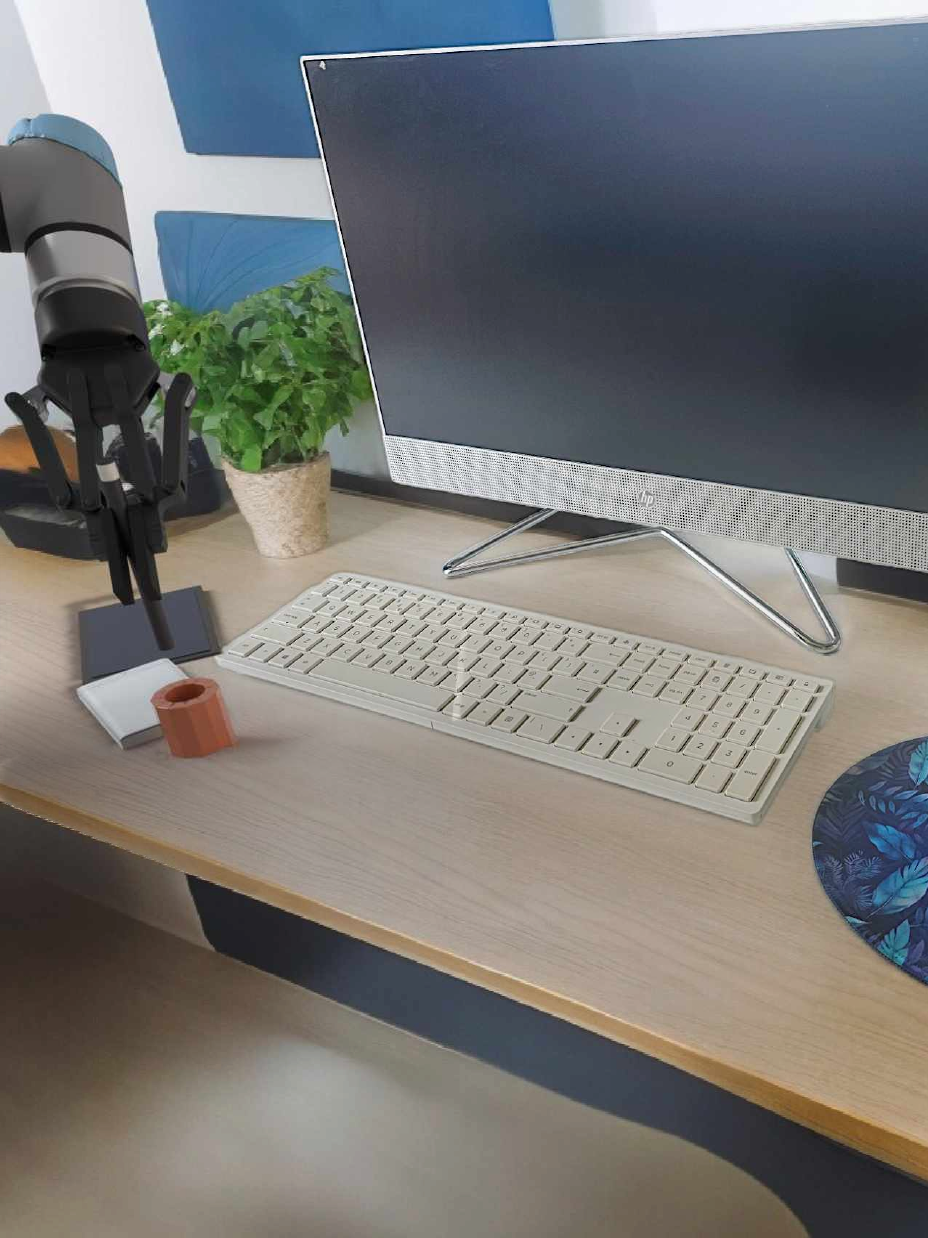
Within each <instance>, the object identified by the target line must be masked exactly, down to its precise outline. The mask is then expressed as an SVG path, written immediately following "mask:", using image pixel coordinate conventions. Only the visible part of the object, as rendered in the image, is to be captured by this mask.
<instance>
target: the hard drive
mask: <svg viewBox="0 0 928 1238" xmlns="http://www.w3.org/2000/svg"><path fill="white" fill-rule="evenodd" d="M190 678H191V677H189V676H188V675H187V674H186V673H184V671H182V670H181V669H180V668H179V667H178V666H177V664H176V665H175V664H174V663H172V662H171V661H170V660H169V659H168V658H164V659H160V660H157V661H154V662H151V663H148V664H145V665H142V666H139V667H136V668H133V669H130V670H127V671H124V672H121V673H118V674H115V675H112V676H109V677H106V678H103V679H100V680H97V681H95V682H92V683H89V684H86V685H81V686H79V687H78V688H76V693H77V695H78V698H79V699H80V701H81V702H82V703H83V704H84V705H85V707H86V708H87V709H88V710H89V712H90V713H91V714H92V715H93V716H94V717H95V718H96V720H97V721H98V722H99V724H100V725H101V726H102V727H103V728H104V729H105V730H106V731H107V733H108V734H109V735H110V736H111V738H112V739H113V740H114V741H115V742H116V743H117V745H118V746H119V747H120V748H121V750H122V751H124V750H127V749H130V748H132V747H135V746H138V745H141V744H143V743H146V742H149V741H151V740H154V739H157V738H159V737H163V735H162V732H161V729H160V727H159V724H158V721H157V718H156V716H155V713H154V710H153V707H152V704H151V702H150V701H151V699H152V697H153V695H154V693H155V692H157V691H158V690H160V689H161V688H163V687H164V686H166V685H167V684H170V683H173V682H176V681H179V680H182V679H190Z"/></svg>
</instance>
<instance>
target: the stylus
mask: <svg viewBox="0 0 928 1238" xmlns="http://www.w3.org/2000/svg"><path fill="white" fill-rule="evenodd" d="M95 463H96V467H97V470H98V473H99V476H100V479H101V481H102V484H103V487H104V490H105V492H106V495H107V498H108V505H109V508H111V509H112V512H113V515H114V518H115V521H116V524H117V527H118V530H119V533H120V536H121V539H122V542H123V545H124V548H125V551H126V554H127V559H128V564H129V567H130V570H131V572H132V575H133V579H134V581H135V583H136V586H137V589H138V594H139V595H140V596H139V597H140V598H141V599H142V602H143V604H144V607H145V610H146V613H147V616H148V619H149V622H150V625H151V628H152V631H153V634H154V637H155V640H156V643H157V646H158V649H159V650H160V651H167V650H170V649H173V648H174V647H175V644H174V641H173V637H172V634H171V631H170V628H169V625H168V622H167V619H166V616H165V613H164V610H163V607H162V604H161V601H160V600H157V601H150V599H149V598H148V596H147V595H146V594H145V592H144V591H143V590H142V588H141V585H140V579H139V573H138V567H137V561H136V556H135V550H134V544H133V538H132V532H131V526H130V520H129V515H128V509H127V505H130V504H129V502H128V501H129V500H128V497H127V496H126V492H125V490H124V486H123V483H122V480H121V477H120V473H119V470H118V466H117V463H116V462H115V460H114V458H113V457H110V456H107V457H104V458H101V459H98V460H96V461H95Z"/></svg>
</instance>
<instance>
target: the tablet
mask: <svg viewBox="0 0 928 1238" xmlns="http://www.w3.org/2000/svg"><path fill="white" fill-rule="evenodd" d="M161 596H162V600H160V601H161V604H162V607H163V610H164V613H165V616H166V619H167V622H168V625H169V628H170V631H171V634H172V637H173V641H174V644H175V647H174V648H173V649H170V650H167V651H160V650H159V649H158V646H157V643H156V640H155V637H154V634H153V631H152V628H151V625H150V622H149V619H148V616H147V613H146V610H145V607H144V604H143V602H142V599H141V597H140V598H134V600H135V604H133V605H127V606H124V605H123V604H122V603H121V601H120V602H116V603H111V604H107V605H103V606H98V607H94V608H89V609H84V610H80V611H79V610H78V612H77V619H78V620H77V621H78V635H79V651H80V652H79V653H80V668H81V680H82V681H81V683H82V684H81V686H83V685H86V684H89V683H92V682H95V681H97V680H100V679H103V678H106V677H109V676H112V675H115V674H118V673H121V672H124V671H127V670H130V669H133V668H136V667H139V666H142V665H145V664H148V663H151V662H154V661H157V660H160V659H164V658H168V659H169V660H170V661H171V662H172V663H174V664H175V665H176V666H177V665H180V664H184V663H189V662H192V661H196V660H197V661H198V660H201V659H205V658H210V657H214V656H217V655H221V654H222V653H221V649H220V645H219V641H218V638H217V635H216V632H215V628H214V624H213V621H212V617H211V614H210V611H209V607H208V604H207V600H206V597H205V593H204V590H203V587H202V585H201V584H199V585H195V586H190V587H185V588H181V589H176V590H172V591H171V590H170V591H167V592H161Z"/></svg>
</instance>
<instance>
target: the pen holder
mask: <svg viewBox="0 0 928 1238" xmlns="http://www.w3.org/2000/svg"><path fill="white" fill-rule="evenodd" d="M189 678H190V679H182V680H179V681H176V682H173V683H170V684H167V685H166V686H164V687H163V688H161V689H160V690H158V691H157V692H155V693H154V695H153V697H152V699H151V701H150V702H151V704H152V707H153V710H154V713H155V716H156V718H157V721H158V724H159V727H160V729H161V732H162V737H163V740H164V743H165V746H166V748H167V751H168V755H171V756H172V757H176V758H179V759H180V758H181V759H194V758H203V757H206V756H208V755H212V754H215V753H217V752H219V751H222V750H223V749H227V748H234V747H236V748H237V746H238V740H237V736H236V734H235V730H234V728H233V723H232V722H231V718H230V714H229V712H228V708H227V706H226V703H225V700H224V696H223V693H222V690H221V687H220V685H219V684H218V683H217V682H216V680H215V679H213V678H207V677H189Z"/></svg>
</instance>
